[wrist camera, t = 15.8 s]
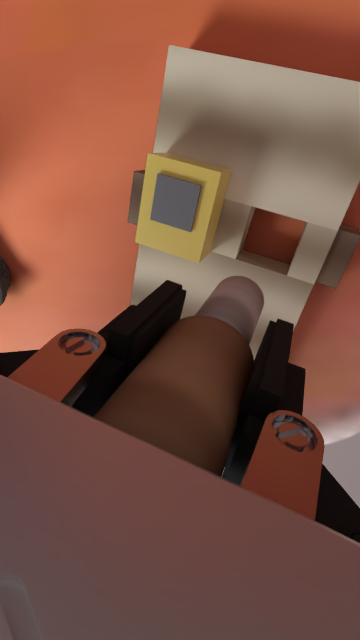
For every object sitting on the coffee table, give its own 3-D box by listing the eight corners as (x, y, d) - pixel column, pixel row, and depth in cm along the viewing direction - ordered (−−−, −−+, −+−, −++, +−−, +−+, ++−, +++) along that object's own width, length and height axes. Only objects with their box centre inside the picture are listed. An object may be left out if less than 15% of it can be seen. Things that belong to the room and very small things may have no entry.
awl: (260, 340, 15) (144, 706, 5) (198, 317, 16) (-13, 605, 6) (284, 279, 14) (184, 630, 4) (214, 257, 14) (-31, 505, 4)
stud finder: (210, 252, 27) (197, 264, 24) (152, 233, 28) (133, 243, 25) (231, 170, 24) (220, 172, 21) (165, 152, 25) (145, 152, 22)
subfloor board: (278, 398, 34) (274, 418, 31) (122, 336, 37) (108, 350, 35) (418, 102, 21) (431, 95, 19) (164, 51, 25) (146, 40, 22)
